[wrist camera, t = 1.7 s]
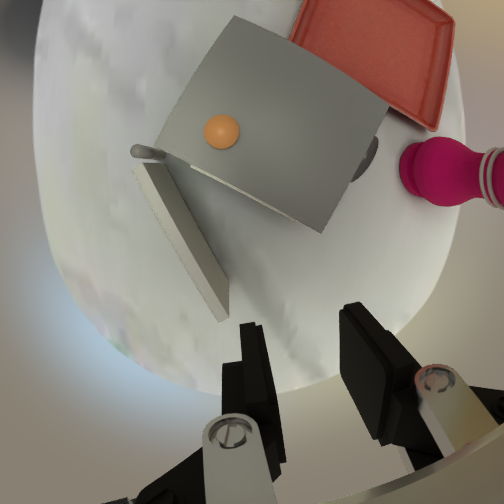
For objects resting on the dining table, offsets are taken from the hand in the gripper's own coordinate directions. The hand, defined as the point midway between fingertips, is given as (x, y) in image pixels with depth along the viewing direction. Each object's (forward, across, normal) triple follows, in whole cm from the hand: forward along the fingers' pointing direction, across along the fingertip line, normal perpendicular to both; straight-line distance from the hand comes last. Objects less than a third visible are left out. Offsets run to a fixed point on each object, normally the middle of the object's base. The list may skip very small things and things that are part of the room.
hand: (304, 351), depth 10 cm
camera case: (+21, -2, -10) cm, 23 cm away
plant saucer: (+22, -17, -20) cm, 34 cm away
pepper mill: (+21, -20, -4) cm, 29 cm away
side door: (+21, +6, -2) cm, 22 cm away
